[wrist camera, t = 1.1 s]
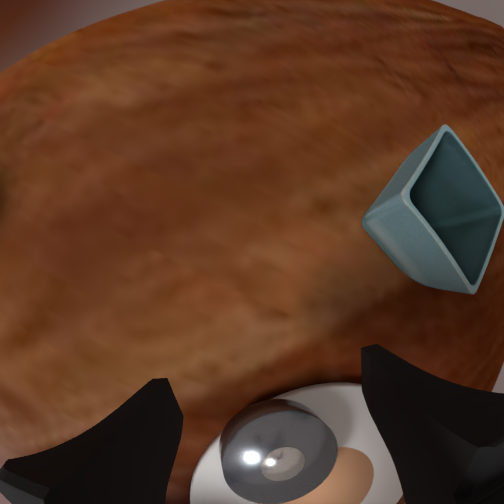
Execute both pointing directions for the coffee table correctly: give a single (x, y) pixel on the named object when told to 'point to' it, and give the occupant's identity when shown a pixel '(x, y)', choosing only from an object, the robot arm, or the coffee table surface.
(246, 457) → the cast cover
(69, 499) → the robot arm
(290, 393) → the turntable
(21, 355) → the coffee table surface
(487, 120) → the coffee table surface
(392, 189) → the flower pot
